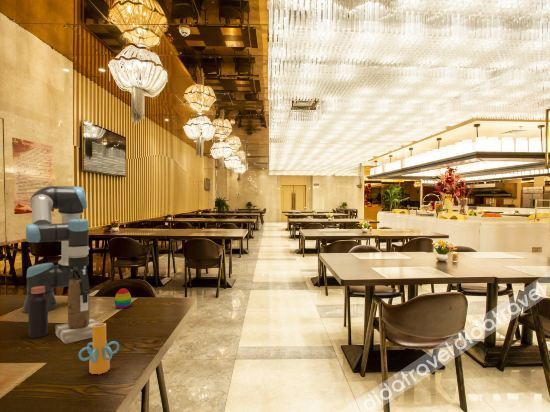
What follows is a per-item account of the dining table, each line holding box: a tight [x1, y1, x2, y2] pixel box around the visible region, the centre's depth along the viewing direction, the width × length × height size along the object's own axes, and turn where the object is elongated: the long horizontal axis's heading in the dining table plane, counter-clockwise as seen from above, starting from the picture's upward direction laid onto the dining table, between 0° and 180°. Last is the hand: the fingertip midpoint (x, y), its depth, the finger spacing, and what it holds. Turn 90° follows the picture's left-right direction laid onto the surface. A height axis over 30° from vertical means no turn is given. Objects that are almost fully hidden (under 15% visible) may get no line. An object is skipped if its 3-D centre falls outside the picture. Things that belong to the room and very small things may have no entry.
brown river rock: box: [67, 277, 91, 328], centre depth 153 cm, size 11×8×20 cm
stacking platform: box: [55, 317, 99, 345], centre depth 153 cm, size 14×14×4 cm
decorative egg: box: [114, 287, 132, 310], centre depth 195 cm, size 8×8×10 cm
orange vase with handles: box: [77, 322, 120, 375], centre depth 120 cm, size 12×10×15 cm
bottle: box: [28, 286, 49, 339], centre depth 153 cm, size 7×7×20 cm
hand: (78, 307), depth 153 cm, fingers open, 13 cm apart
